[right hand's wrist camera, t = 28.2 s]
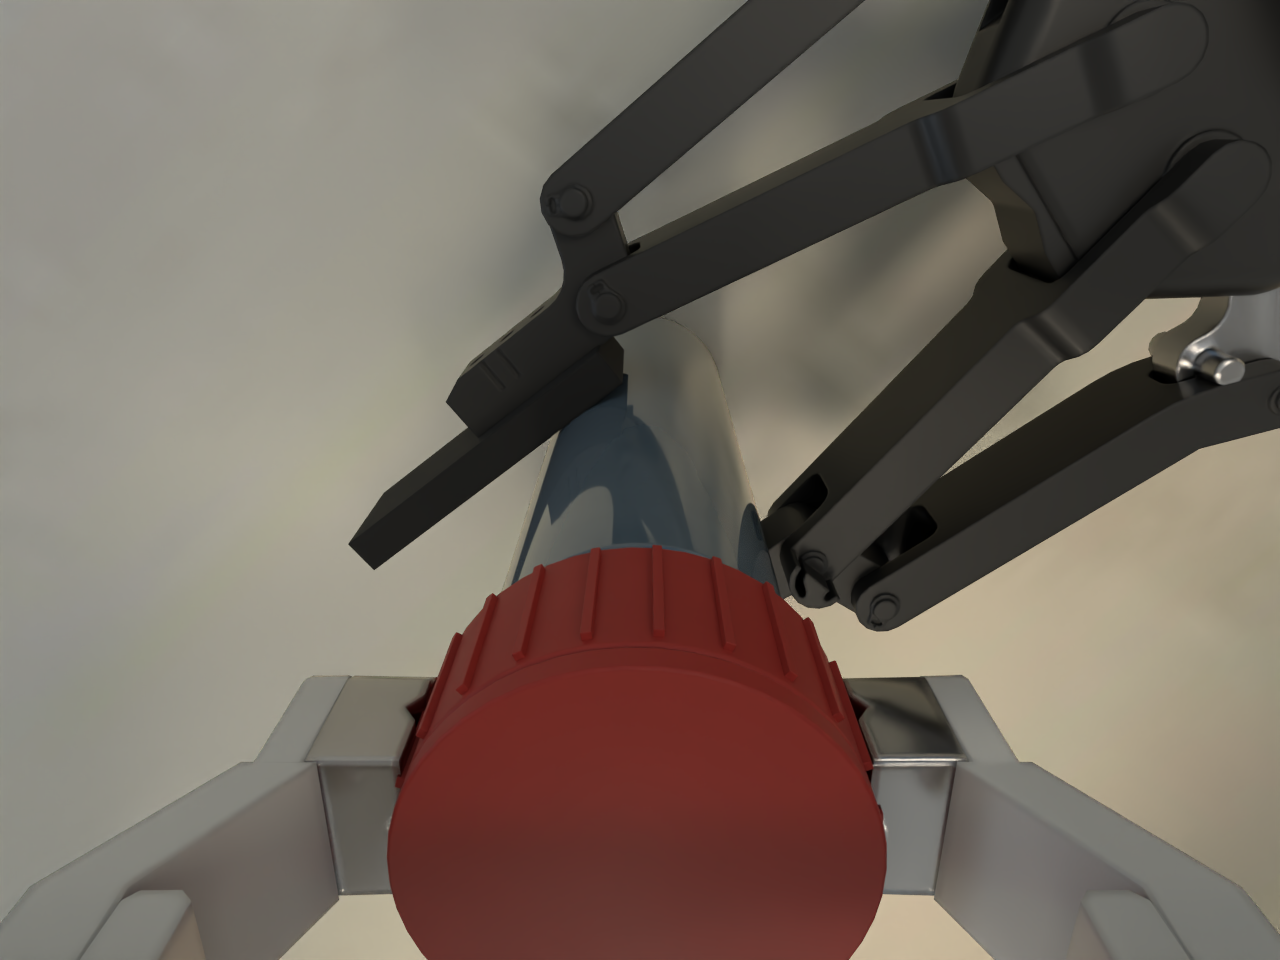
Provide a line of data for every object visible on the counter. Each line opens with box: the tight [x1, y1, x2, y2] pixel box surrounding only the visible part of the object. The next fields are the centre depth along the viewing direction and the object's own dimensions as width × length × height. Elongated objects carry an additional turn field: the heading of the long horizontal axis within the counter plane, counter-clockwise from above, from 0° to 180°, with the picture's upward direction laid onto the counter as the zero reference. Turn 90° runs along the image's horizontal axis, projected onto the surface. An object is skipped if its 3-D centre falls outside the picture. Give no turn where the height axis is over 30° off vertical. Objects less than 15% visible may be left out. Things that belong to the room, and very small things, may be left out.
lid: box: [387, 545, 887, 960], centre depth 10 cm, size 5×5×2 cm
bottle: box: [502, 317, 782, 598], centre depth 17 cm, size 4×4×16 cm
